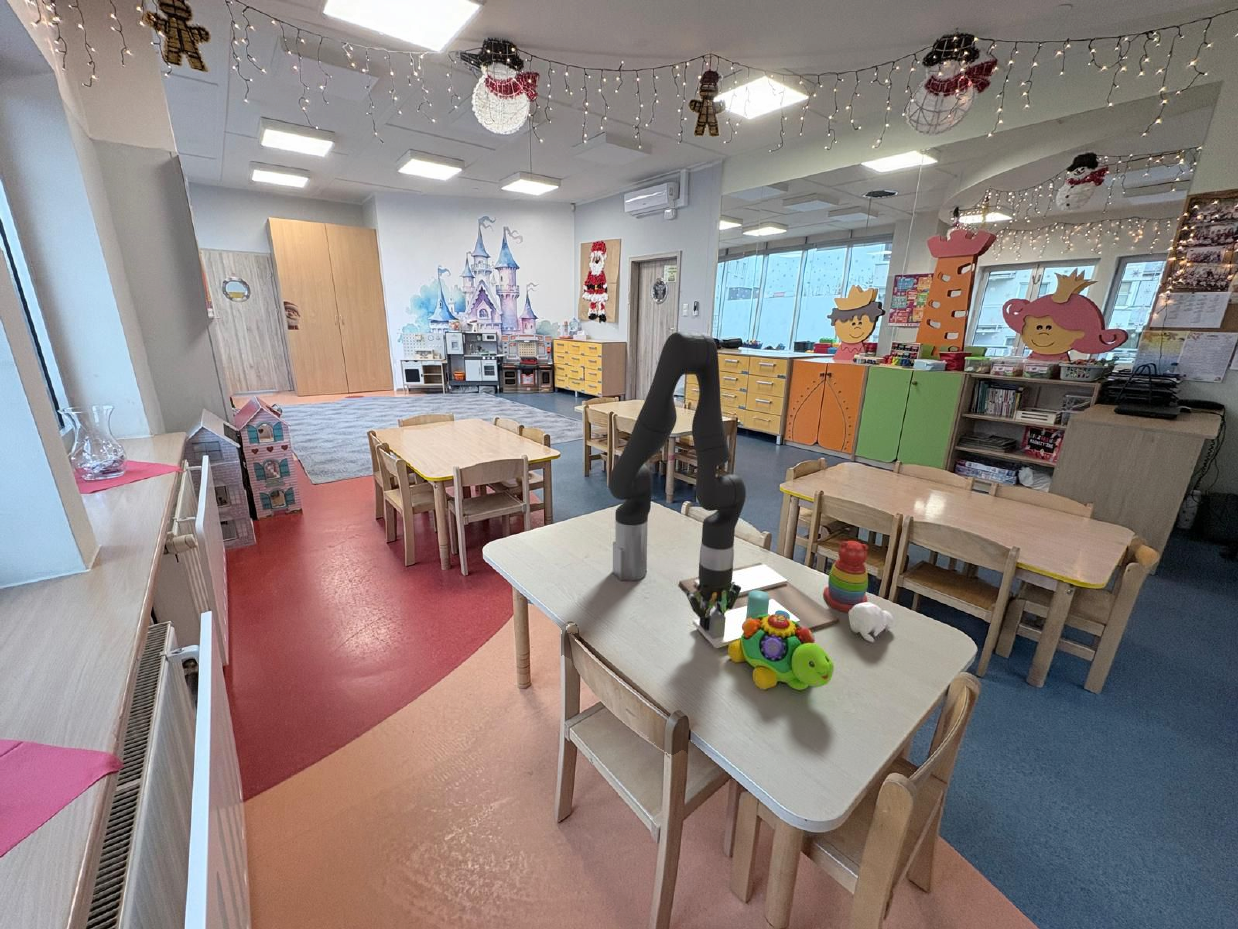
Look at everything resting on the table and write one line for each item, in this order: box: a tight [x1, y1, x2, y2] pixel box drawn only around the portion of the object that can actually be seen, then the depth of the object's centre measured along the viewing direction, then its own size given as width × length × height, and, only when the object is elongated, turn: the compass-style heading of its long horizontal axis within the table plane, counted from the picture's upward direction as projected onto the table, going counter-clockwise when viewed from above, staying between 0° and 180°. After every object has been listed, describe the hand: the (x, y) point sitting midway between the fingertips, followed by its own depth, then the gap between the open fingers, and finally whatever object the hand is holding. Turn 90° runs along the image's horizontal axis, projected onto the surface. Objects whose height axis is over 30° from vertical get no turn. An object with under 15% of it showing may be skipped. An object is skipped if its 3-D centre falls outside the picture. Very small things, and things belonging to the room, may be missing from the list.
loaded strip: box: [692, 599, 800, 649], centre depth 121 cm, size 24×10×6 cm, turn 113°
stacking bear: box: [823, 540, 869, 613], centre depth 130 cm, size 11×10×18 cm
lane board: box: [678, 562, 841, 632], centre depth 133 cm, size 28×31×1 cm
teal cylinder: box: [746, 590, 770, 619], centre depth 122 cm, size 5×5×6 cm
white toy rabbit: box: [848, 601, 894, 643], centre depth 120 cm, size 6×8×12 cm
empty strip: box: [694, 563, 788, 596], centre depth 139 cm, size 24×10×6 cm, turn 113°
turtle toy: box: [727, 610, 835, 691], centre depth 106 cm, size 17×23×12 cm
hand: (711, 626), depth 118 cm, fingers closed on loaded strip, 3 cm apart
